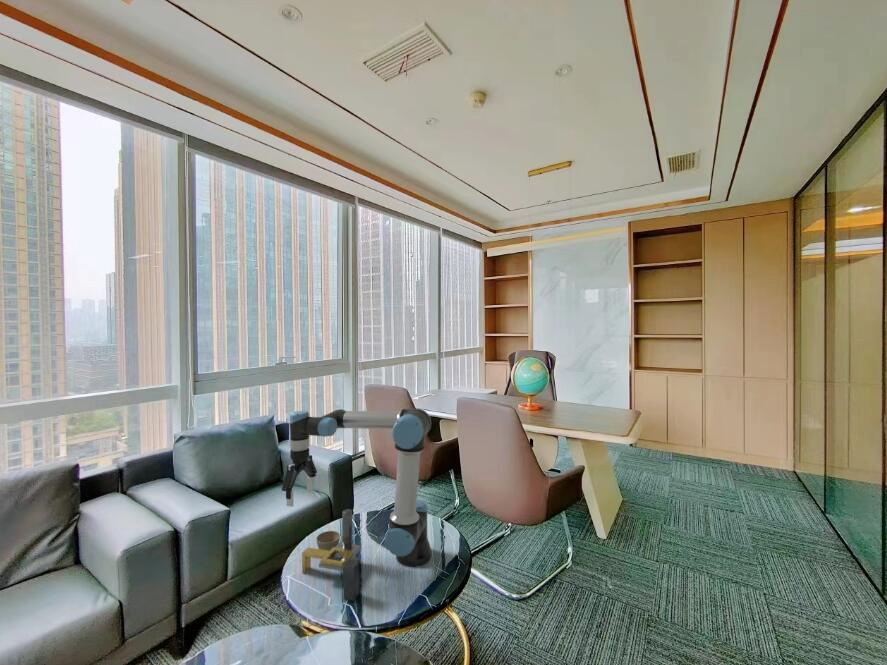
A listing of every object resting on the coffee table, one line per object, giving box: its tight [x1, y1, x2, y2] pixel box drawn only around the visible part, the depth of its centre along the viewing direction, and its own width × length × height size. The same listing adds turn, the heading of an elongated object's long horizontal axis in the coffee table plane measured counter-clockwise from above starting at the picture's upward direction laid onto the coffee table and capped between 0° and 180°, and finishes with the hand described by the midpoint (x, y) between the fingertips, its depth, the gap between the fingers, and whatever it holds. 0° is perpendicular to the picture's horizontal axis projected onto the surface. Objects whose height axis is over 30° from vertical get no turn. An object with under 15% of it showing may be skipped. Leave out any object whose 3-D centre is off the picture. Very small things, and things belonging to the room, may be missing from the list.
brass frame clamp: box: [301, 508, 362, 575], centre depth 155 cm, size 20×16×22 cm
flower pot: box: [315, 530, 341, 551], centre depth 167 cm, size 10×10×7 cm
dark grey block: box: [343, 560, 360, 602], centre depth 140 cm, size 4×4×12 cm
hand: (300, 498), depth 161 cm, fingers open, 13 cm apart
